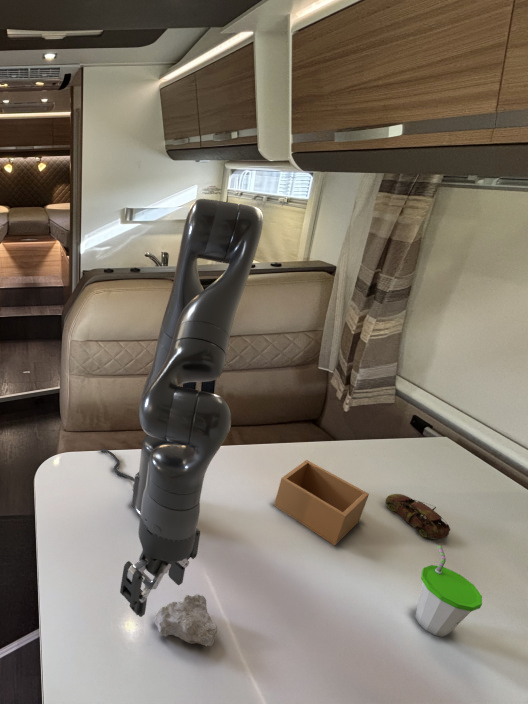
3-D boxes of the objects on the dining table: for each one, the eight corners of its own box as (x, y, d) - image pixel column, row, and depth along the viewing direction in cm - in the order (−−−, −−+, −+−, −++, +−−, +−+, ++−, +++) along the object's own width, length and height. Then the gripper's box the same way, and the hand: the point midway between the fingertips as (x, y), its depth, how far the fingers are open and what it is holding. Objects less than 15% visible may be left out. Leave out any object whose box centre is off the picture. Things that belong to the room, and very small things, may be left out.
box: (334, 545, 93) (345, 516, 90) (273, 505, 104) (281, 477, 101) (358, 522, 99) (369, 493, 96) (298, 486, 110) (306, 459, 107)
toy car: (454, 539, 95) (462, 523, 93) (428, 544, 94) (436, 528, 92) (401, 498, 106) (408, 483, 104) (378, 502, 105) (384, 487, 103)
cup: (465, 656, 73) (501, 597, 67) (407, 631, 77) (436, 573, 71) (454, 616, 79) (486, 559, 74) (400, 595, 83) (427, 539, 77)
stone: (220, 650, 74) (226, 628, 72) (167, 660, 73) (171, 638, 71) (197, 604, 82) (201, 583, 79) (148, 612, 80) (151, 592, 78)
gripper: (179, 478, 65) (167, 554, 72) (112, 520, 58) (105, 601, 64) (223, 510, 60) (206, 589, 66) (155, 561, 52) (143, 645, 58)
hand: (156, 595), depth 65 cm, fingers open, 8 cm apart
